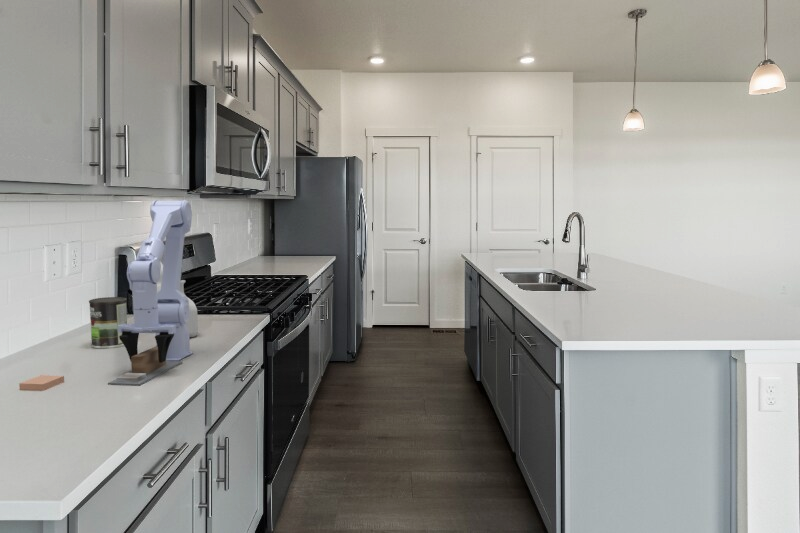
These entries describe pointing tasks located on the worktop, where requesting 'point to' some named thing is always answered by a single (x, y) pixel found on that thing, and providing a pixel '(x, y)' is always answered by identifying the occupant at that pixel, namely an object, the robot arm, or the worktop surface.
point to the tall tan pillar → (142, 365)
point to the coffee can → (107, 321)
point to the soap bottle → (193, 318)
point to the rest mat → (150, 374)
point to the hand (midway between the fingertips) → (148, 361)
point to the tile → (41, 383)
